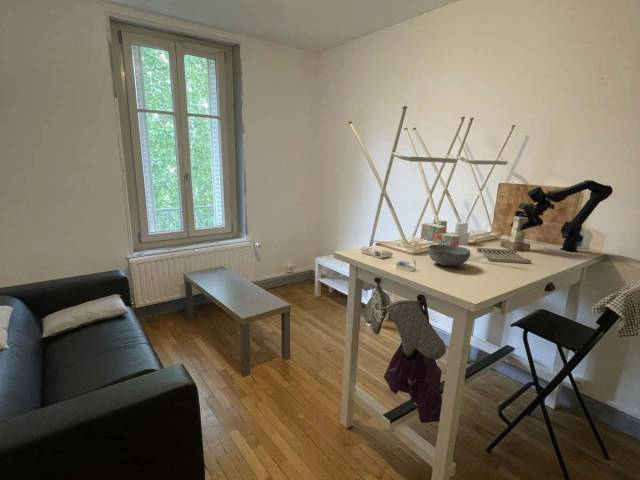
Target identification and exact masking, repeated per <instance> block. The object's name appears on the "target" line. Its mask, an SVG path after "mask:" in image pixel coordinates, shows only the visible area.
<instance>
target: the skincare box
mask: <svg viewBox="0 0 640 480" xmlns="http://www.w3.org/2000/svg"><path fill="white" fill-rule="evenodd" d="M435 220H436V219H434V222H433V224H437V222H436V221H435ZM438 220H439V223H440V225H441V226H446V227H447V225H448V221H447V220H443V219H438Z"/></svg>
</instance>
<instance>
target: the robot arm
mask: <svg viewBox="0 0 640 480" xmlns="http://www.w3.org/2000/svg"><path fill="white" fill-rule="evenodd" d="M585 190H586V191H587V190H589V192H590V193H589V198H588V200H587V201H586V202H585V204H584V205H583V206H582V208H581V209H580V210H579V211H578V213H576V215H575V216H574V217H573V219H571V220H570V221H565V222H564V224H563V225H562V226H561V229H560V233H561V238H562V239H564V241H563V243H562V247H560V248H559V249H560V250H563V251H565V252H570V253H571V252H572V253H573V252H574V253H575V252H576V253H579V252H580V250H578V247H579V242H583V239H584V237H583V235H581V232H582V229H583V224H585V222H586V220H588V218H589V217H590V215H591V214H592V212H594V211H595V209H596V208H597V207H598V205H599V204H600V203H601V202H603V201H605V200H607V199H608V198H609V197H610V196H611V195H612V194H613V192H614V191H613V188H612V186H610V185H608V184H607V185H606V184H602V183H599V182H597V181H595V180H592V179H590V180H589V179H586V180H584V181H582V182H577V183H576V184H573V185H570V186H567V187H564V188H562V189H554V190H549V191H548V192H545V191H544V190H543V188H542V187H541V186H537V187H535V188H533V189H530V190H529V191H528V192H527V195H528V196H527V197H529V199H530V200H532V202H533V203H536V204H535V205H534V204H533V203H526V202H521V203H520V205H518V209H520V210H515V211H514V217H515V216H517V217H525V218H528V221H527V222H526V223H525V224H524V225H523V226H522V227H521V228H520V230H524V229H526V230H527V229H530V228H531V229H532V228H534V227H541V226H542V225H543V224H544V220H543V219H542V218H541V216H544V213H545V212H546V211H547V210H549V209H550V210H555V204H554V203H557V204H558V203H560V202H562V201H564V200H566V199H567V198H568V197H570V196H572V195H575V194H579V193H581V192H583V191H585ZM552 202H553V203H552ZM513 222H514V220H513V221H512V222H511V224H510V227H511V228H512V227H513Z"/></svg>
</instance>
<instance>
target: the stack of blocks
mask: <svg viewBox="0 0 640 480" xmlns="http://www.w3.org/2000/svg"><path fill="white" fill-rule="evenodd" d="M421 239H424V240H427V241H433V242H435V243H437V244H438V245H450V246H457V247H459V239H460V236H459V235H455V234H452V233H450V232H447V226H441V225H440V226H439V225H437V224H434V223H432V222H426V223H421V229H420V240H421Z"/></svg>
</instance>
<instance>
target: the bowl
mask: <svg viewBox="0 0 640 480" xmlns="http://www.w3.org/2000/svg"><path fill="white" fill-rule="evenodd" d="M427 252H428V255H429V258H430V259H431V260H432V261H433V262H435V263H436V264H438V265H440V266H444V267H455V266H459V265H462V264H464V263H466V262H467V261H468V260H469V258H470V256H471V250H470V249H468V248H466V247H462V246H458V247H457V246H450V245H430V246H429V247H427Z"/></svg>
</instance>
